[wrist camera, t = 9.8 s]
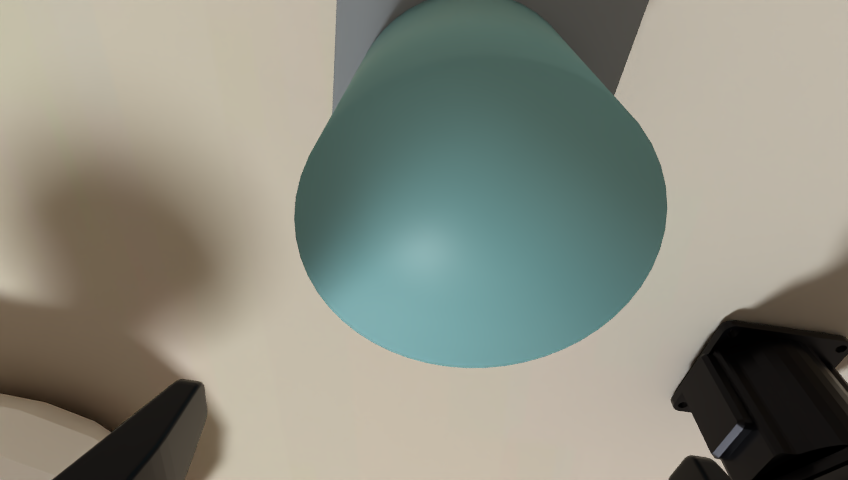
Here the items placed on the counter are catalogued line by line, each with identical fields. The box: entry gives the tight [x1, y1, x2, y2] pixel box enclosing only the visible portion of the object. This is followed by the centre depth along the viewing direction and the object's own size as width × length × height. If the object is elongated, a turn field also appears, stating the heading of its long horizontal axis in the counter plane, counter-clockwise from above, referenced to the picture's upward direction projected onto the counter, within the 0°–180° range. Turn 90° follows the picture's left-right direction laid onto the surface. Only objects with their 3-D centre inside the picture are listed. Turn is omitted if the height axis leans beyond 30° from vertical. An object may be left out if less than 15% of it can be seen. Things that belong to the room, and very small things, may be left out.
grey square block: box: [332, 0, 649, 114], centre depth 13 cm, size 6×6×4 cm
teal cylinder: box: [294, 0, 667, 368], centre depth 9 cm, size 5×5×5 cm
